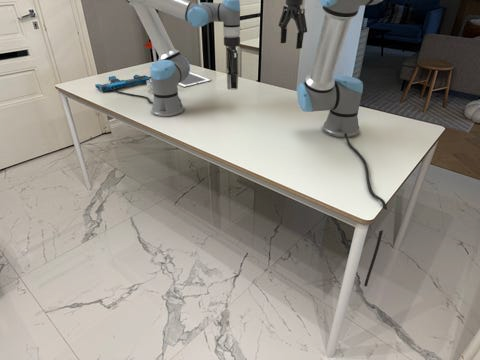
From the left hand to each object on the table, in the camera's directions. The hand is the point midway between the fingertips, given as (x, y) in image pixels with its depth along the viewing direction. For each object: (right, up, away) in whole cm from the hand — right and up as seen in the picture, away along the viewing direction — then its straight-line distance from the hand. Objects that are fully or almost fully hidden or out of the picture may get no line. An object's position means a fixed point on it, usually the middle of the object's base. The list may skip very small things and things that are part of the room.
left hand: (232, 86), depth 168 cm
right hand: (+28, +17, -7) cm, 34 cm away
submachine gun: (-67, +12, +39) cm, 79 cm away
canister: (0, -1, +1) cm, 1 cm away
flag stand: (-43, +5, +28) cm, 52 cm away
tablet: (-32, +18, +48) cm, 61 cm away
